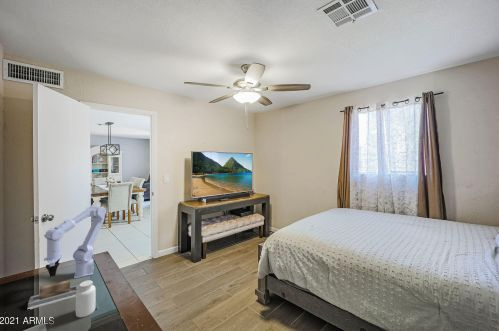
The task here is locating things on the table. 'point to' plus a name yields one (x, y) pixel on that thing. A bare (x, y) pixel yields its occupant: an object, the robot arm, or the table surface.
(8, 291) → the table surface
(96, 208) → the robot arm
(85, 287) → the pill bottle
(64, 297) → the track
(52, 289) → the door panel
